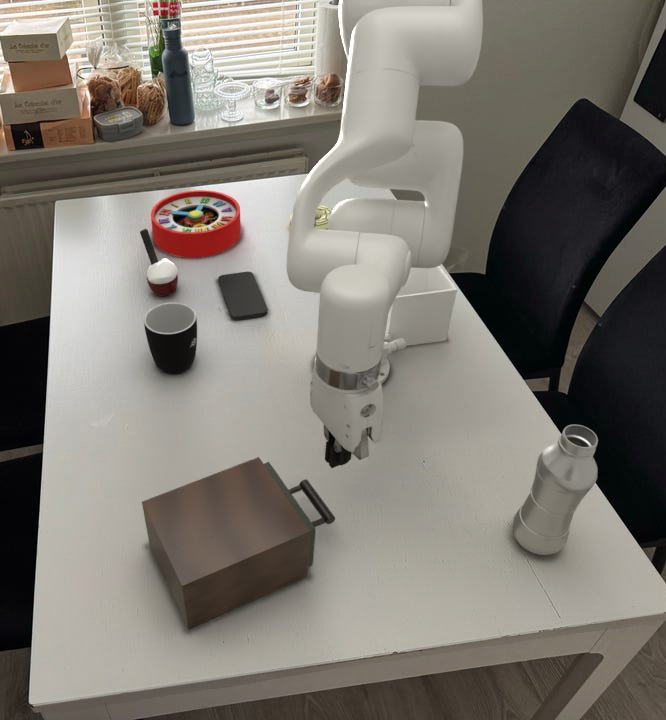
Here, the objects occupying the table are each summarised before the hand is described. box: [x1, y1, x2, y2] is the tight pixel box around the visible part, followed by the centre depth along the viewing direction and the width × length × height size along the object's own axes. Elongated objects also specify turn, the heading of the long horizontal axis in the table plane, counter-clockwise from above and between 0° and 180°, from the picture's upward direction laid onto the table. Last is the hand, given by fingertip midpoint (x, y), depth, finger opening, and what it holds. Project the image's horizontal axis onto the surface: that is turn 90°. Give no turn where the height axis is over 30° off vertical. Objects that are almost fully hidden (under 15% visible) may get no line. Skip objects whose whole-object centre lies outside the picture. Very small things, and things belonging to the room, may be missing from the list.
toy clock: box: [150, 189, 242, 259], centre depth 155 cm, size 20×6×20 cm
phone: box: [217, 270, 269, 320], centre depth 137 cm, size 7×1×15 cm
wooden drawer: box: [263, 461, 336, 568], centre depth 89 cm, size 20×12×8 cm, turn 113°
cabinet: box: [141, 456, 310, 630], centre depth 88 cm, size 17×13×10 cm
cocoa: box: [139, 228, 179, 297], centre depth 137 cm, size 10×6×12 cm, turn 12°
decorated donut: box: [289, 205, 333, 230], centre depth 154 cm, size 10×11×4 cm
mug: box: [143, 302, 198, 375], centre depth 121 cm, size 12×9×10 cm
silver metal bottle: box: [512, 424, 599, 556], centre depth 84 cm, size 6×7×20 cm
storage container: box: [385, 265, 458, 347], centre depth 128 cm, size 25×11×11 cm, turn 7°
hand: (337, 460), depth 94 cm, fingers closed
